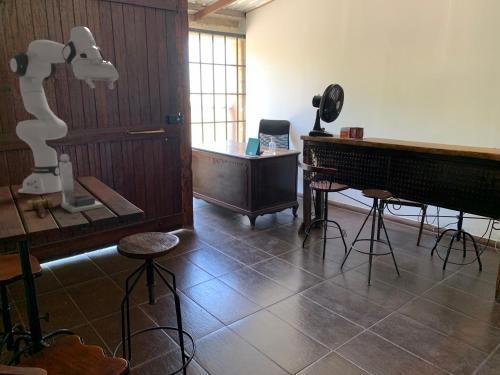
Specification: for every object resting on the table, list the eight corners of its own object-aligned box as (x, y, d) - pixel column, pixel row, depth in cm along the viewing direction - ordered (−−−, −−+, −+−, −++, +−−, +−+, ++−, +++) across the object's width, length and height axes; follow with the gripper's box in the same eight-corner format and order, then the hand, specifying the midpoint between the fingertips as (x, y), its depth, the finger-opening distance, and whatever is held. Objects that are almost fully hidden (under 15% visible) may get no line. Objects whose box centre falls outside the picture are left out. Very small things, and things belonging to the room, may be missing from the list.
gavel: (55, 210, 164) (28, 213, 159) (56, 220, 165) (30, 223, 160) (51, 197, 181) (26, 199, 176) (52, 206, 182) (28, 209, 177)
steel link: (72, 201, 190) (67, 153, 185) (75, 203, 187) (70, 154, 182) (63, 202, 187) (58, 154, 182) (65, 204, 184) (60, 154, 179)
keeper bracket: (90, 201, 190) (89, 187, 189) (103, 207, 180) (101, 192, 179) (61, 206, 181) (59, 192, 179) (72, 212, 171) (70, 197, 169)
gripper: (108, 65, 182) (118, 92, 181) (67, 62, 165) (78, 90, 164) (115, 58, 178) (126, 85, 177) (73, 53, 162) (85, 83, 161)
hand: (102, 87), depth 171 cm, fingers open, 8 cm apart
